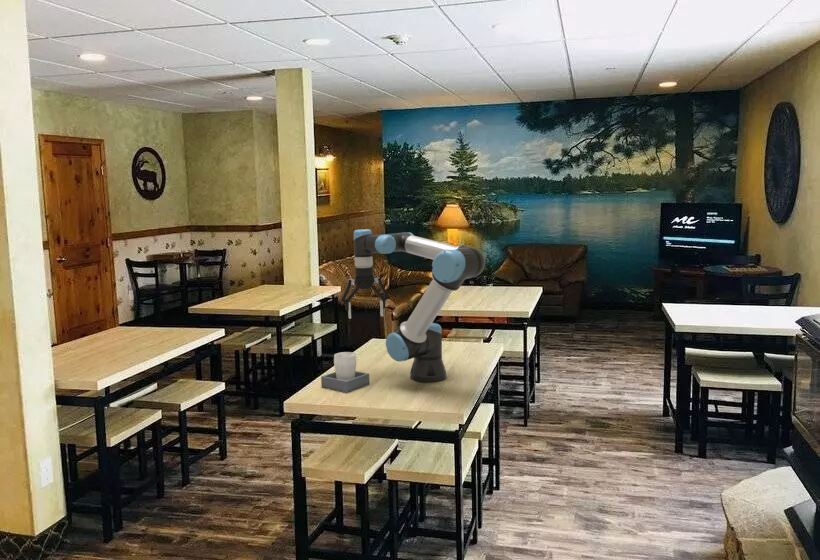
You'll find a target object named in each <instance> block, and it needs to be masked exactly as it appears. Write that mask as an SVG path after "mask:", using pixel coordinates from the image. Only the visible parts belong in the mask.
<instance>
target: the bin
mask: <svg viewBox="0 0 820 560" xmlns="http://www.w3.org/2000/svg"><path fill="white" fill-rule="evenodd" d="M320 381H321V383H320V384H321V385H320V386H321V388H323V389H328V390H332V391H337V392H340V393H346V394H348V393H351V392H354V391H355V390H359V389H362V388H364V387H366V386H369V385H370V373H367V372H362V371H357V370H356V371H355V378H353V379H350V380H348V381H344V380H339V379H337V377H336V371H334V372H331V373H327V374H325V375H321V376H320Z"/></svg>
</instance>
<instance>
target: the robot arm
mask: <svg viewBox="0 0 820 560" xmlns="http://www.w3.org/2000/svg"><path fill="white" fill-rule="evenodd" d="M395 252H396V253H397V252H404V253H406V254H407V253H408V254H412V255H415V256H418V257H422V258H424V259H425V258H426V259H430V260H432V264H431V267H432V269H431V277H432V280H431V282H430V283H429V285H428V286H427V288H426V290H425V292H424V293H423V295H422V296H421V298H420V299H419V301H418V303H417V305H416V306H415V308H414V310H413V311H412V312H411V314H410V315H409V317H408V319H407V320H406V321H403V322H401V323H400V325H399V326H398V328H397V330H396V331H395V332H391V333H389V334H388V335H387V337H386V340H385V347H386V352H387V354H388V355H389V356H390V357H391V359H392V360H394V361H396V362H405V361H408V360H411V359H413V361H412V364H411V368H410V372H409V373H410V374H409V378H410V379H411V380H412V381H415V382H420V383H434V382H435V383H436V382H441V381H443V380H445V379H447V371H446V366H445V364H444V361H443V341H442V340H443V333H442V326H441V325H440V324H439V323H435V322H434V321H435V319H436V317H437V316H438V315H439V312H440V311H441V310H442V308H443V307H444V305H445V303H446V301H447V300H448V299H449V297H450V295H451V294H452V292H456V291H458V290H459V289H460V288H461V286H462V284H463V283H464V282H465V280H467V279H473V278H476V277H477V276H479V275H481V273H482V272H483V271H484V269H485V266H486V257H485V255H484V254H483V252H482V250H480V249H478V248H477V247H473V246H468V245H464V244H460V245H459V246H457V245H453V244H448V243H445V242H442V241H441V242H440V241H436V240H434V239H433V240H432V239H429V238H425V237H421V236H416V235H414V234H413V233H412V232H408V231H407V232H405V231H403V232H397V233H396V232H395V233H387V234H373V233H372V230H371V229H365V228H364V229H355V230H354V232H353V254H354V266H355V268H354V276H355V278H354V279H351V278H348V279H347V284H346V287H345V289H344V291H343V293H342V295H341V298H340V301H341V302H342V303H344V304H345V311H347V312H348V314H347V315H348V317H347V318H348V319H349V320H350V319H352V308H351V307H352V305H351V302H350V301H351V300H352V298H353V297H354V296H355V295H356V293H358V291H359V290H365V289H366V290H370V289H371V290H372V291H373V292H374V293H375V294H376V295H377V296H378V297H379V298H380V300H379V308H380V309H379V311H380V312H379V314H380V317H384V309H386V301H387V300H389V299H390V296H389V294H388V292H387V290H386V288H385V286H384V285H383V283H382V278H381V277H380V276H378V277H374V267H373V265H374V262H373V260H374V259H373V254H383V255H385V254H391V253H395ZM375 282H376V283H377V284H378V285H379V286H378V287H379V288H380V290H381V291H382V293H383V294H382V293H381V292H380V291H379V290H378V289H377V288H376V287H375V285H373V284H374V283H375ZM354 283H355V286H354V287H353V290H352V291H351V292H350V293H349V291H350V289H351V288H352V287H351V286H353V284H354ZM348 293H349V295H348Z"/></svg>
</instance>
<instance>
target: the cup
mask: <svg viewBox="0 0 820 560" xmlns="http://www.w3.org/2000/svg"><path fill="white" fill-rule="evenodd" d="M333 364H334V372H336V377H337V379H339V380H344V381H348V380H350V379H353V378H355V371H357V354H356V352H352V351H351V352H350V351H343V352H342V351H341V352H337V353H334V354H333Z"/></svg>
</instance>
